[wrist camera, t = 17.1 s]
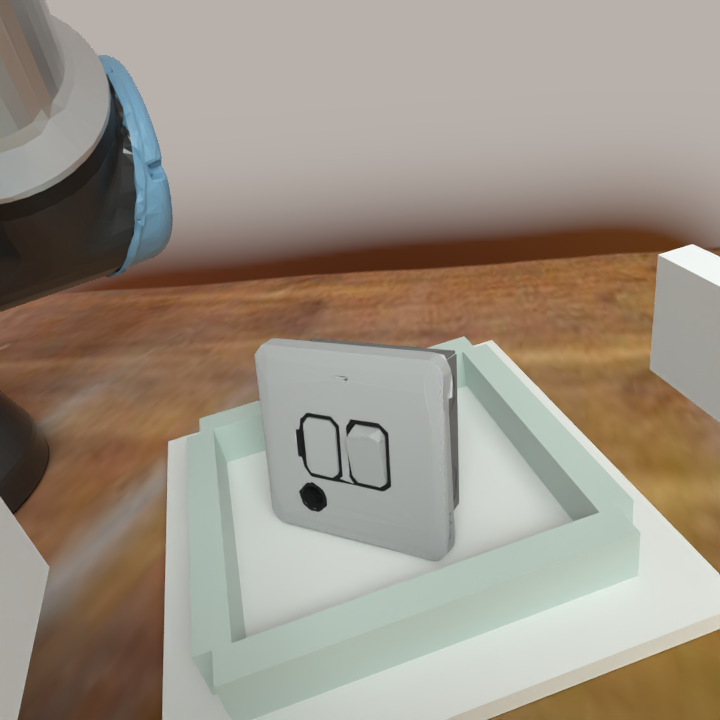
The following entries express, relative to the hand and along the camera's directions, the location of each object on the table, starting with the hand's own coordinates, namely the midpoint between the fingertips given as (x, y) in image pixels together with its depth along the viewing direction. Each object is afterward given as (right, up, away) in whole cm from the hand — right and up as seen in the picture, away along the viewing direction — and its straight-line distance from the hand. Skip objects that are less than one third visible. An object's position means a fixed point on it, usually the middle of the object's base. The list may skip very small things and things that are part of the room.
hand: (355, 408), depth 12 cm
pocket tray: (+1, -7, +20) cm, 21 cm away
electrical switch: (+1, -6, +19) cm, 20 cm away
